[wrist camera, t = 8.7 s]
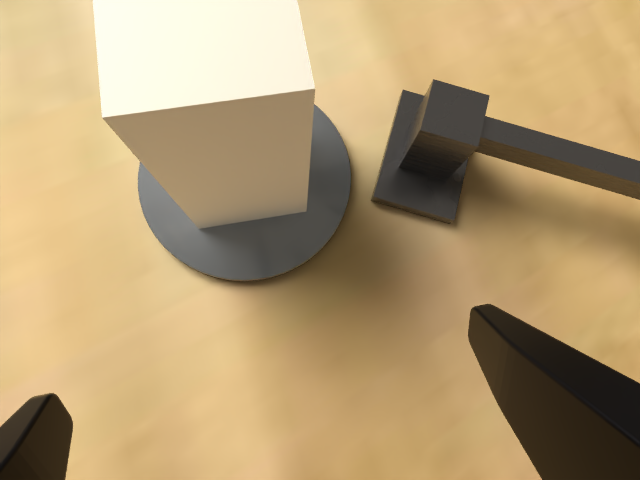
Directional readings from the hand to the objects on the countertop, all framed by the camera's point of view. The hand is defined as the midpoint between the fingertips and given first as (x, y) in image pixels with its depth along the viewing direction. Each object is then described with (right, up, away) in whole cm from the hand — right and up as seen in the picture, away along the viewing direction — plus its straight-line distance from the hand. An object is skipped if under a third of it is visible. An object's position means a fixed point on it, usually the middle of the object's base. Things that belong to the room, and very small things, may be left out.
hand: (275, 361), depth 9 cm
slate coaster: (-3, +6, +12) cm, 13 cm away
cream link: (-3, +6, +11) cm, 13 cm away
